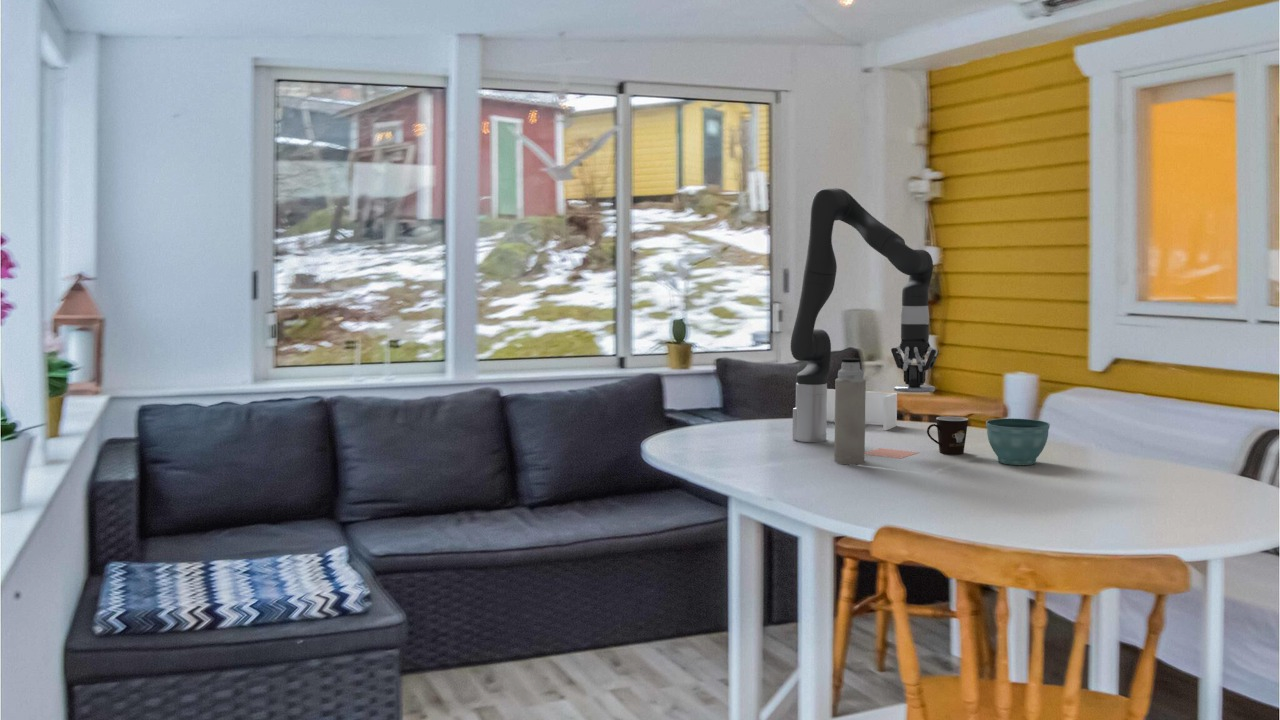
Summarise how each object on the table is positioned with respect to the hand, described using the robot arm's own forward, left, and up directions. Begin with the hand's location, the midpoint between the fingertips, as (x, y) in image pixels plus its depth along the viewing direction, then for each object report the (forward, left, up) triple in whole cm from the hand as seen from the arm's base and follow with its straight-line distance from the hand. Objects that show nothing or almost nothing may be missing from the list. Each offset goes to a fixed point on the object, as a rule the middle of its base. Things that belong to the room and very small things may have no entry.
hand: (914, 384), depth 318 cm
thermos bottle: (-9, -21, -20) cm, 30 cm away
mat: (-5, -3, -20) cm, 21 cm away
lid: (0, 0, -2) cm, 2 cm away
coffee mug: (+7, +7, -20) cm, 22 cm away
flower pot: (+27, +6, -20) cm, 34 cm away
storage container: (-39, +39, -20) cm, 59 cm away
